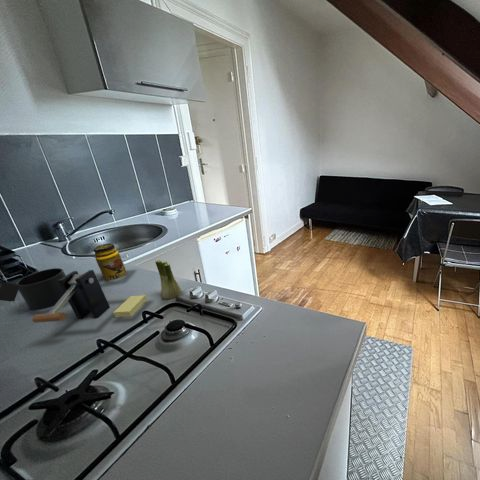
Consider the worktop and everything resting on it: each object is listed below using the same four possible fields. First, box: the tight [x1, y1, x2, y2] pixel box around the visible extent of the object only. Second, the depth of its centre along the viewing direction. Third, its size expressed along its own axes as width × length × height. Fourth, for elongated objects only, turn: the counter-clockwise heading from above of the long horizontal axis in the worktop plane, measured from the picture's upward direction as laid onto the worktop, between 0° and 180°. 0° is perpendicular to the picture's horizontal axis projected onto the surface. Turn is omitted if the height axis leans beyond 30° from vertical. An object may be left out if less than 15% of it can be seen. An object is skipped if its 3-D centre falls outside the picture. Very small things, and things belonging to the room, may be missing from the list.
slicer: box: [58, 269, 111, 320], centre depth 65 cm, size 12×9×13 cm
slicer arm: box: [32, 273, 84, 324], centre depth 60 cm, size 12×6×2 cm, turn 3°
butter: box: [112, 294, 148, 318], centre depth 68 cm, size 7×4×3 cm, turn 2°
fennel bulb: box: [155, 259, 182, 301], centre depth 71 cm, size 6×5×12 cm
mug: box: [15, 267, 67, 311], centre depth 74 cm, size 9×12×9 cm
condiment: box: [92, 243, 128, 281], centre depth 84 cm, size 7×8×12 cm
